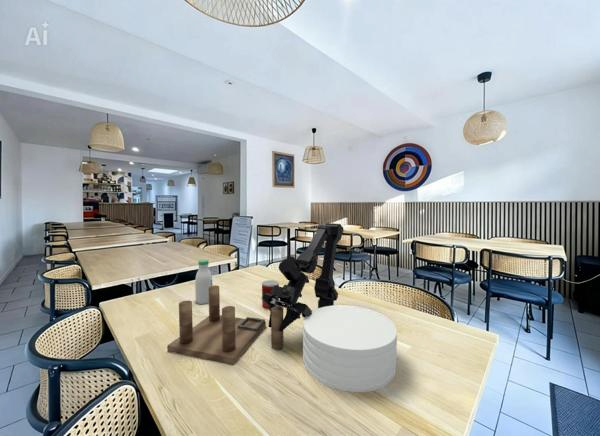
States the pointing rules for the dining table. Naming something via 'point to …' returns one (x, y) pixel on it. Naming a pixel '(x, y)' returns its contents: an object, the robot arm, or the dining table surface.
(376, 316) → the plate stack
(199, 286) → the milk bottle
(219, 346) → the peg board
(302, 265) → the robot arm
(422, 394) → the dining table surface
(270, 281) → the canned food
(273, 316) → the stool leg
